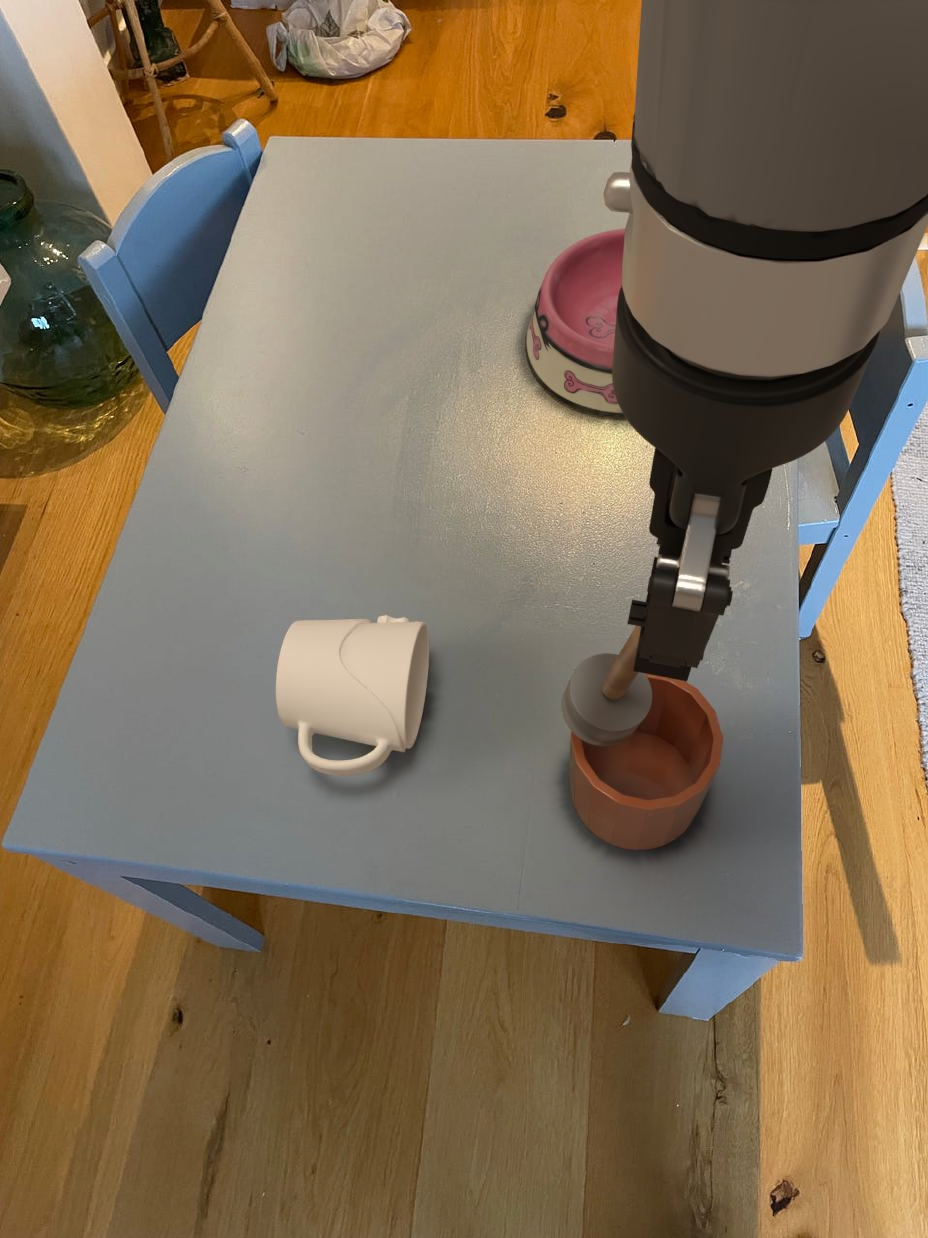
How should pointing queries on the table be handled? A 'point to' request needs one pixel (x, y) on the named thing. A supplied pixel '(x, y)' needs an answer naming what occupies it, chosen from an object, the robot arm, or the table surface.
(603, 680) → the toilet plunger
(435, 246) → the table surface
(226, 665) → the table surface
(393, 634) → the mug
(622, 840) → the crock
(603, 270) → the dog bowl
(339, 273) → the table surface
